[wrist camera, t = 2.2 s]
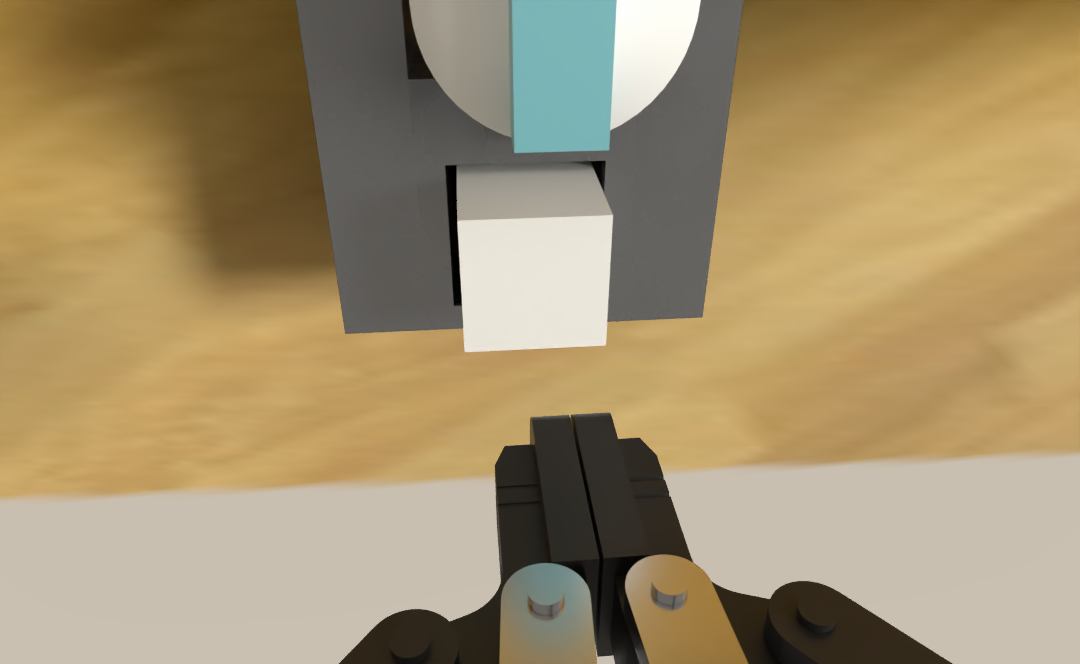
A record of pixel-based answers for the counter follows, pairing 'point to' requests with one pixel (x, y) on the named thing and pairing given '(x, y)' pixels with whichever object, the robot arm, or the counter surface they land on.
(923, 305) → the counter surface
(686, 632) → the robot arm
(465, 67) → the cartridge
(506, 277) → the off-white cube
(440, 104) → the housing
